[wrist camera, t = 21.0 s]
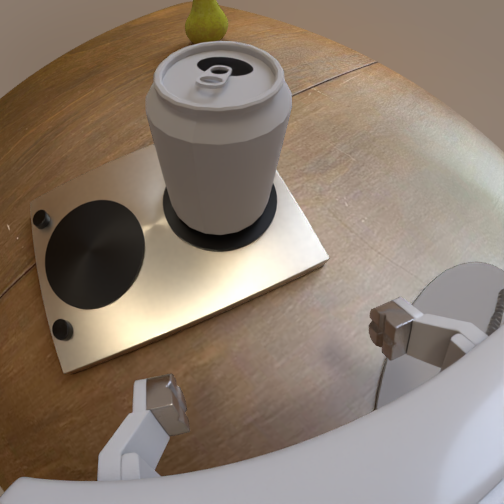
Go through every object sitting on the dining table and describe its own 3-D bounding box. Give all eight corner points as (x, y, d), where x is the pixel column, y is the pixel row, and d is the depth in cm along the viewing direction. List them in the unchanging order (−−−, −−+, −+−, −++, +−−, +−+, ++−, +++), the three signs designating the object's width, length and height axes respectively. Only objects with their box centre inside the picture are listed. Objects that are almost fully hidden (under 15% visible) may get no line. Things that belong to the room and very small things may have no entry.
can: (276, 170, 24) (306, 47, 13) (255, 251, 22) (284, 134, 10) (190, 151, 24) (177, 28, 13) (158, 226, 22) (109, 106, 11)
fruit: (233, 40, 35) (238, -31, 24) (214, 57, 33) (216, -22, 22) (199, 33, 35) (198, -33, 24) (177, 50, 33) (172, -24, 22)
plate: (442, 213, 27) (448, 207, 26) (557, 334, 23) (563, 333, 22) (305, 475, 17) (310, 481, 16) (479, 528, 13) (485, 530, 12)
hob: (72, 374, 19) (58, 373, 17) (37, 209, 23) (25, 197, 21) (324, 264, 24) (333, 254, 21) (239, 126, 28) (241, 109, 26)
